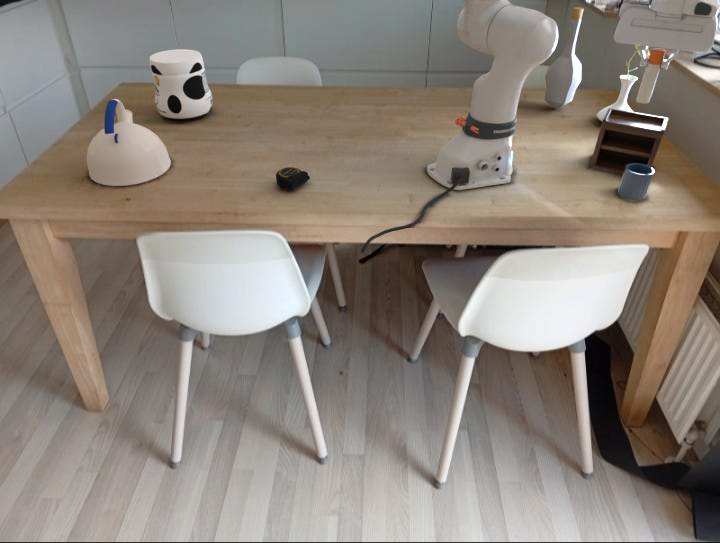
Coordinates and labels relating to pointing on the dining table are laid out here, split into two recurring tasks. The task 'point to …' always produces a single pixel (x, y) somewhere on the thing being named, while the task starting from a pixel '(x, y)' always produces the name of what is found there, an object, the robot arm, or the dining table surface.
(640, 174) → the pen cup
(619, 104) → the flower in vase
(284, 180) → the tape measure
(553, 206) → the dining table surface
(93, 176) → the kettle
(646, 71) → the marker
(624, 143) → the small wooden shelf
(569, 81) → the bottle
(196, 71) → the milk container
